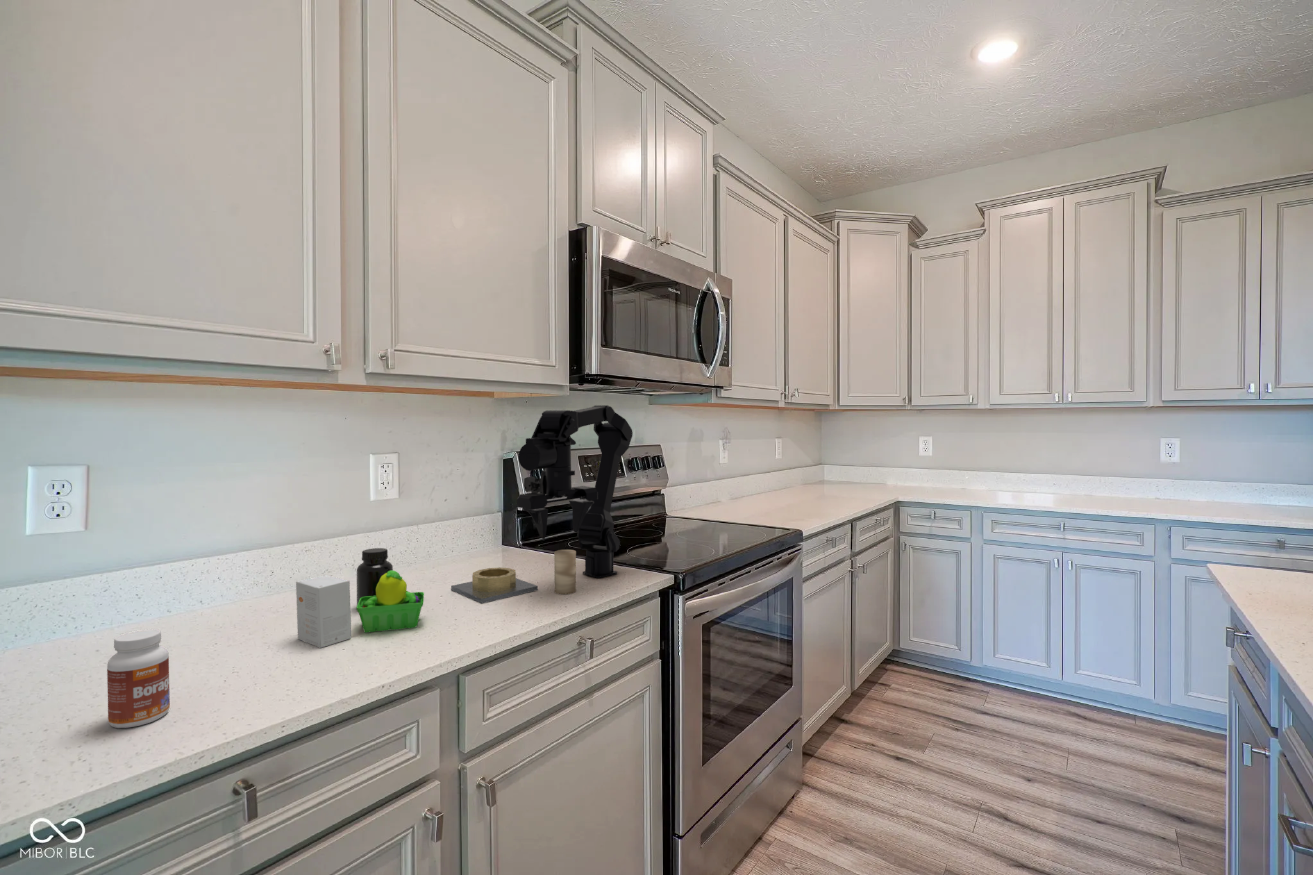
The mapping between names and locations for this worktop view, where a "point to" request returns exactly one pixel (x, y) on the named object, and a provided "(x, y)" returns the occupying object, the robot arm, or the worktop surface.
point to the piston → (565, 571)
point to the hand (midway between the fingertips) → (559, 535)
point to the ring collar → (493, 585)
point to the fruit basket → (390, 605)
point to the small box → (323, 610)
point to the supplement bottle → (371, 571)
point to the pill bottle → (138, 679)
